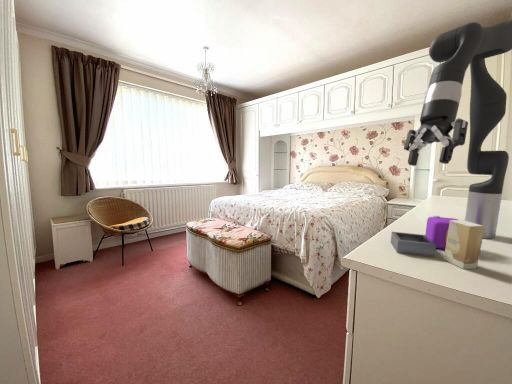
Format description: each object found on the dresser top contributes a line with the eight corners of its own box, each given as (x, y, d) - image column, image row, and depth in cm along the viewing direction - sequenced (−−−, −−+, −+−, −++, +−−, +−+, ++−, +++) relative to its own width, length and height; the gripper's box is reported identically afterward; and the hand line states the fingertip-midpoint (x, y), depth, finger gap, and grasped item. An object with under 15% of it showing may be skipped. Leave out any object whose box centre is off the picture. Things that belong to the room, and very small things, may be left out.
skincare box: (442, 259, 68) (448, 219, 66) (456, 259, 68) (461, 219, 67) (464, 269, 62) (470, 225, 60) (479, 269, 62) (485, 225, 60)
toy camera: (485, 254, 72) (489, 224, 71) (435, 251, 75) (439, 221, 73) (461, 243, 82) (465, 215, 81) (419, 240, 85) (422, 213, 84)
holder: (390, 242, 82) (391, 231, 82) (423, 246, 79) (425, 234, 78) (397, 252, 73) (398, 240, 72) (434, 257, 69) (436, 244, 69)
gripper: (483, 100, 54) (467, 166, 54) (425, 115, 68) (412, 168, 68) (460, 89, 52) (444, 158, 52) (405, 108, 66) (393, 162, 66)
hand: (426, 164), depth 60 cm, fingers open, 8 cm apart
